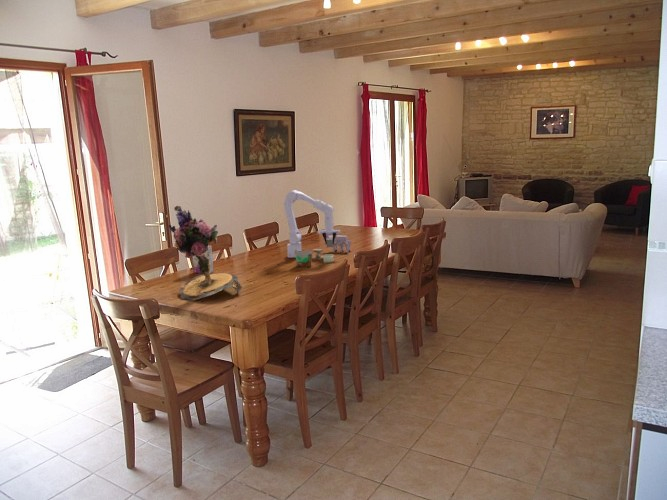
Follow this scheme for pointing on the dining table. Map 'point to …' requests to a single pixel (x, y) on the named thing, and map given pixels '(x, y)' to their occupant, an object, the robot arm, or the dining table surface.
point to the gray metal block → (330, 242)
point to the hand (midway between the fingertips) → (329, 244)
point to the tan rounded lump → (318, 254)
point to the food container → (303, 258)
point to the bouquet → (199, 257)
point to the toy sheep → (340, 242)
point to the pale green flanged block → (328, 258)
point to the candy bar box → (207, 255)
